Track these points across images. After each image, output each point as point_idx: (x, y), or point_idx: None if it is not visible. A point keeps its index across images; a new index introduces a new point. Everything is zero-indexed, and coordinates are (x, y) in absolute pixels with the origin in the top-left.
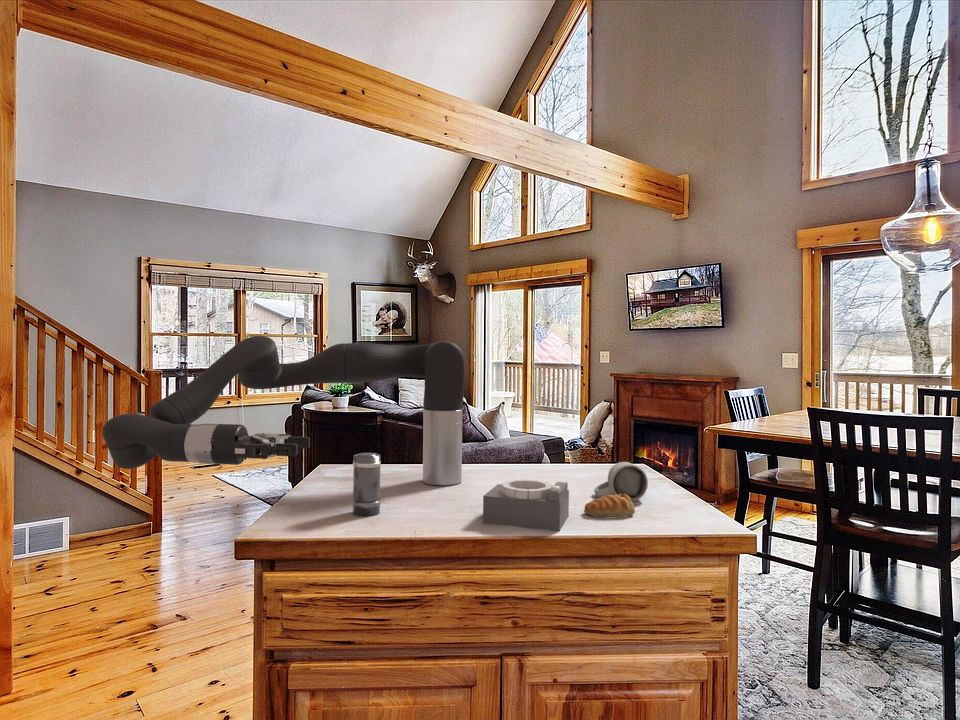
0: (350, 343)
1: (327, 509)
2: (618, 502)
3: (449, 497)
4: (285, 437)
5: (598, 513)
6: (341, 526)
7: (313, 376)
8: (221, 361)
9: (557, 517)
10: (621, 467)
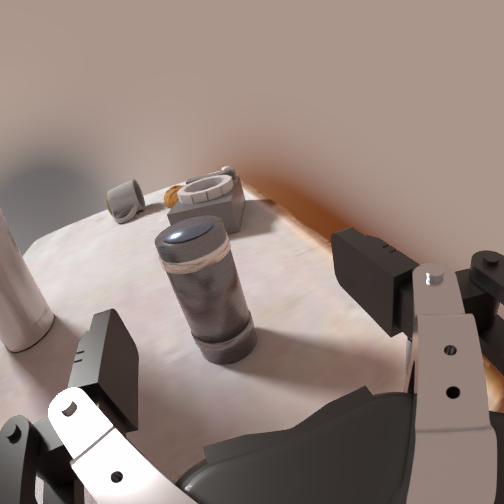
0: None
1: (221, 422)
2: None
3: (117, 294)
4: (99, 410)
5: None
6: (334, 328)
7: None
8: None
9: (242, 189)
10: (132, 183)
